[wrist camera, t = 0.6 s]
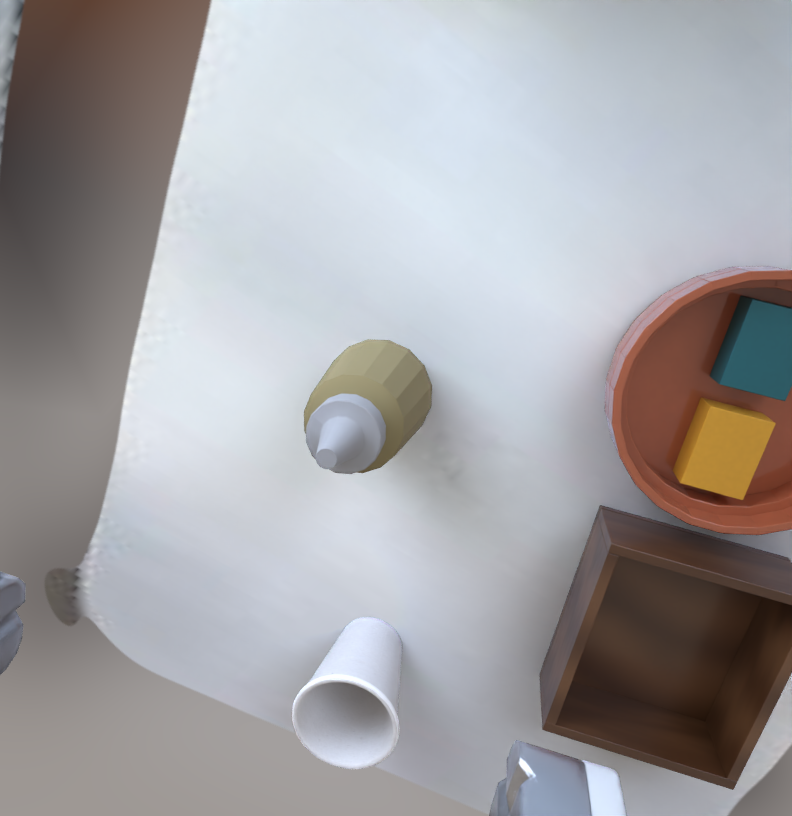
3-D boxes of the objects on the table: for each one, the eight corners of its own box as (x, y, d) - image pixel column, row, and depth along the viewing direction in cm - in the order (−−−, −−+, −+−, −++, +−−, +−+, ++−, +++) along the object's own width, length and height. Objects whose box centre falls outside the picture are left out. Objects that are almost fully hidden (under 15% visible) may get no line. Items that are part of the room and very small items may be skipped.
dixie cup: (435, 640, 58) (420, 721, 49) (384, 701, 61) (360, 789, 52) (357, 586, 58) (326, 657, 49) (309, 649, 61) (271, 728, 51)
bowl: (651, 238, 47) (665, 239, 42) (920, 302, 45) (963, 311, 41) (573, 471, 52) (578, 493, 48) (809, 536, 50) (837, 565, 46)
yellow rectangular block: (700, 397, 49) (710, 406, 46) (763, 413, 48) (776, 423, 46) (672, 470, 50) (679, 483, 48) (732, 487, 50) (742, 500, 48)
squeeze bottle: (457, 399, 52) (429, 486, 35) (373, 447, 55) (308, 551, 37) (402, 311, 51) (346, 357, 34) (318, 364, 53) (226, 432, 36)
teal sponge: (740, 295, 46) (752, 299, 44) (806, 311, 46) (822, 316, 44) (708, 376, 48) (718, 384, 46) (772, 392, 48) (785, 401, 45)
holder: (599, 504, 53) (611, 543, 46) (787, 557, 51) (826, 604, 45) (539, 674, 58) (542, 729, 51) (708, 726, 56) (733, 790, 50)
